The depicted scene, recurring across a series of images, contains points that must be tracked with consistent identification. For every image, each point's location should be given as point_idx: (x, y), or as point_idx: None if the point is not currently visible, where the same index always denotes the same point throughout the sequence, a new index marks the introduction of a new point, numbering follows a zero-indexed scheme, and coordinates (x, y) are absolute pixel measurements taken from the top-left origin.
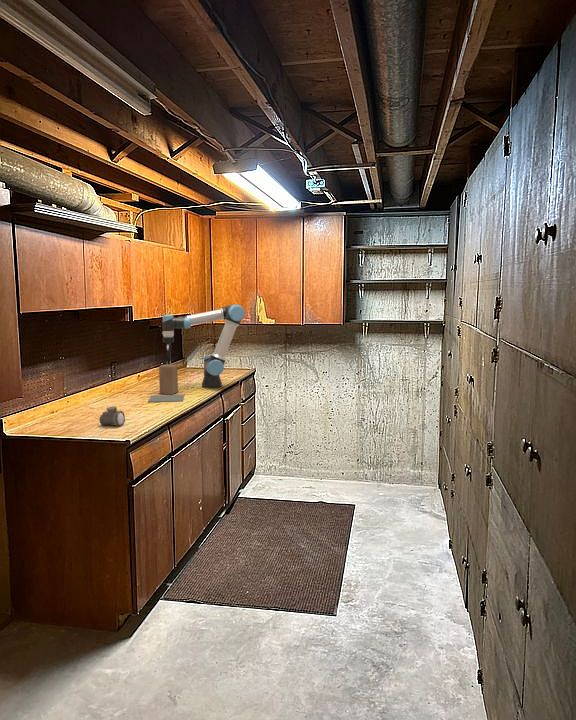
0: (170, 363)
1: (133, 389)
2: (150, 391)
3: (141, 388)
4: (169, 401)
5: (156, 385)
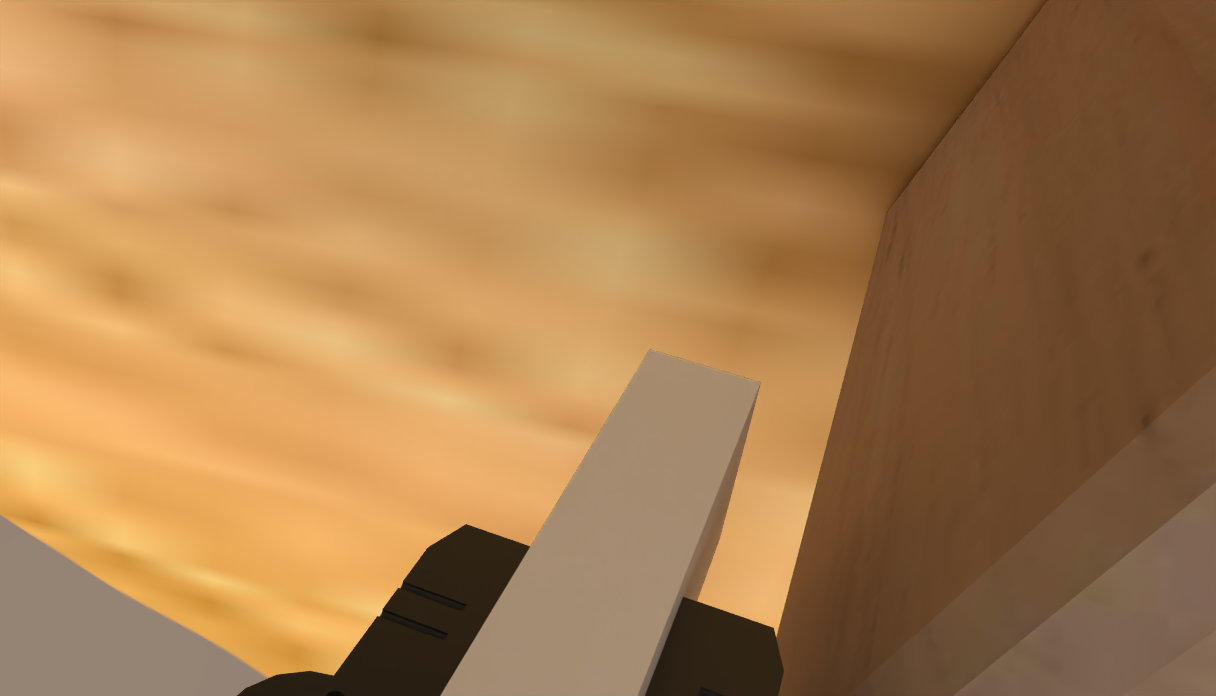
0: (653, 654)
1: None
2: None
3: (317, 536)
4: None
5: (18, 243)
